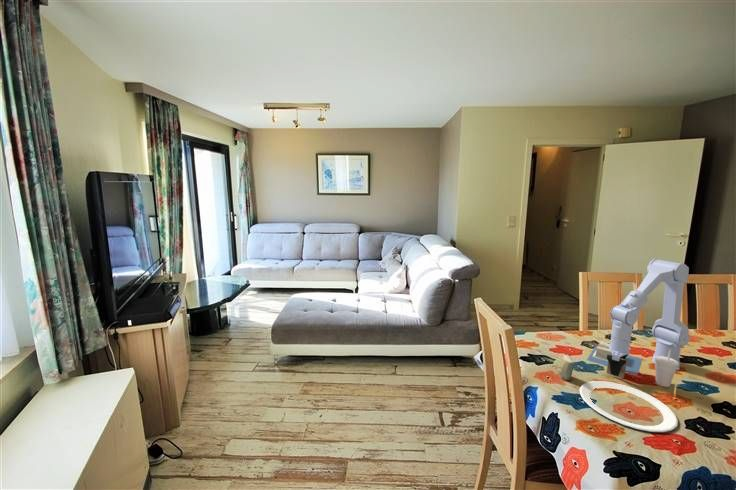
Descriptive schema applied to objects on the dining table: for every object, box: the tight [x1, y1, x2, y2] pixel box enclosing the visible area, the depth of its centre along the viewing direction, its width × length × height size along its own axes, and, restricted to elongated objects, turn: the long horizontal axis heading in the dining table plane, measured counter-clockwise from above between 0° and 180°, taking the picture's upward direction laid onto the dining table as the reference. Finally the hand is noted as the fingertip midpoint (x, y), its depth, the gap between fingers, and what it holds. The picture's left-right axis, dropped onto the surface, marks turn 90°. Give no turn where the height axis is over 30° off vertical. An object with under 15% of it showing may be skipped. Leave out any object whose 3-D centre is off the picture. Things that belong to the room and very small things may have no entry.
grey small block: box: [557, 354, 575, 382], centre depth 118 cm, size 6×5×8 cm
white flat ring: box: [579, 380, 679, 433], centre depth 103 cm, size 25×25×1 cm
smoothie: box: [653, 349, 680, 388], centre depth 113 cm, size 6×6×14 cm
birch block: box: [596, 341, 613, 360], centre depth 132 cm, size 8×8×4 cm
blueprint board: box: [586, 345, 643, 376], centre depth 130 cm, size 17×16×1 cm
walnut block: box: [606, 358, 627, 379], centre depth 120 cm, size 5×5×6 cm
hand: (616, 370), depth 120 cm, fingers open, 7 cm apart
